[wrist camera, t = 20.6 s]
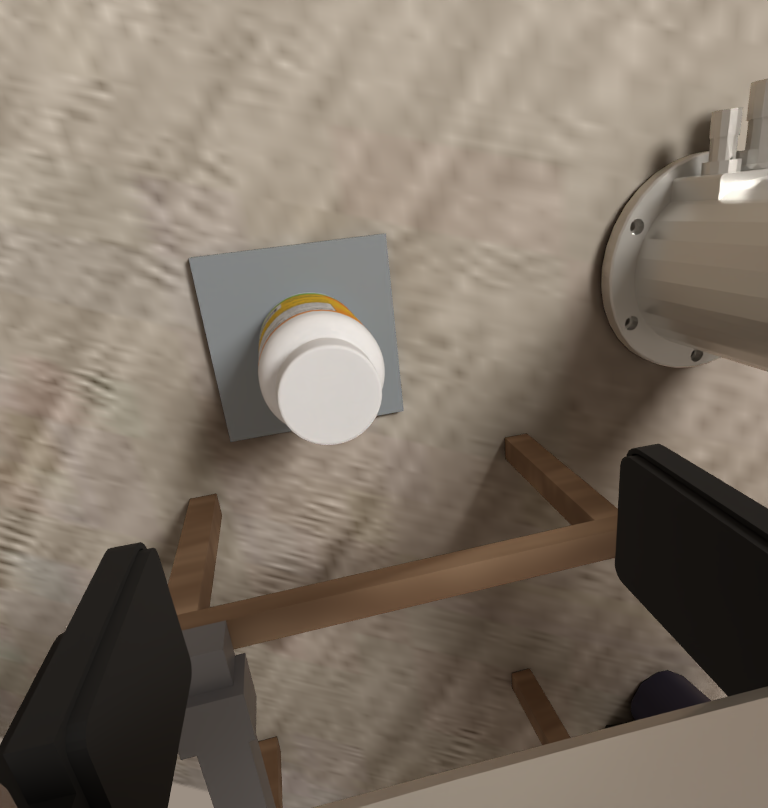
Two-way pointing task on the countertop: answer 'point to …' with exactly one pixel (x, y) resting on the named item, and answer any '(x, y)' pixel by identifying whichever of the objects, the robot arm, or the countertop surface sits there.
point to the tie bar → (223, 721)
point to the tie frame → (403, 579)
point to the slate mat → (270, 284)
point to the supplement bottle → (320, 369)
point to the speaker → (664, 695)
